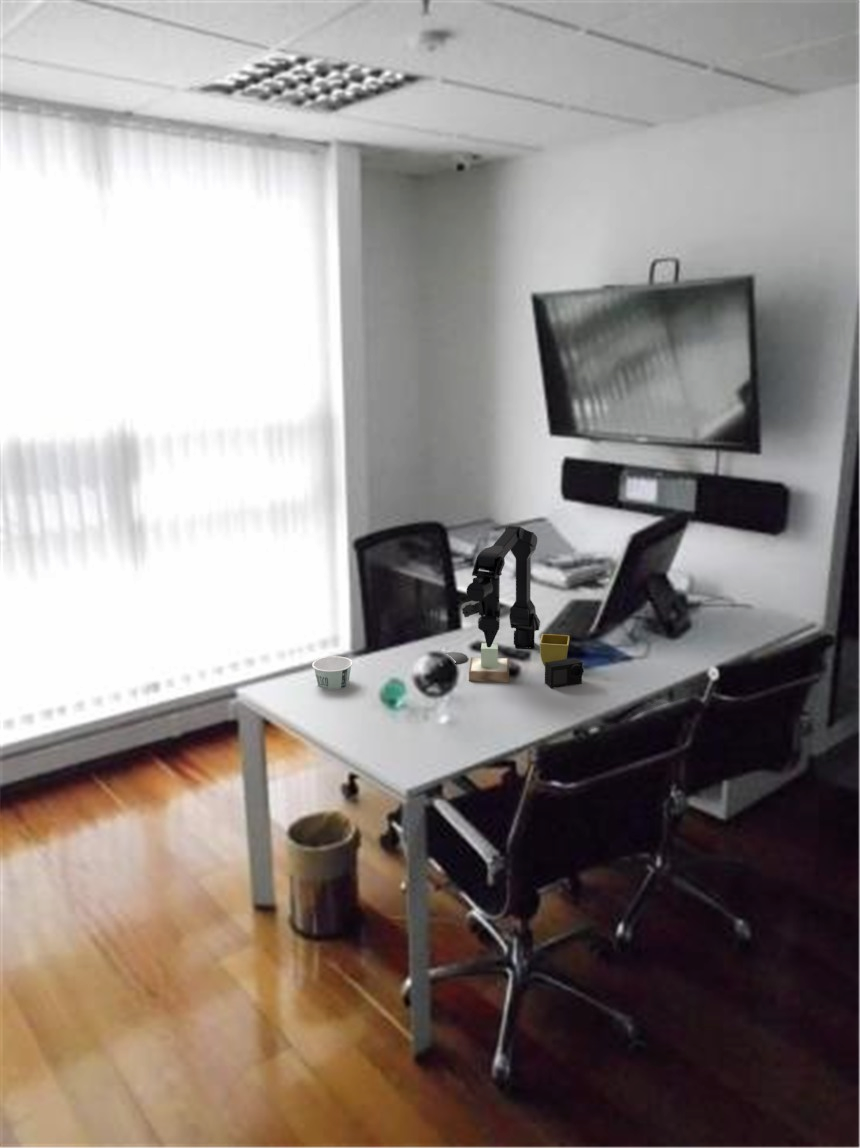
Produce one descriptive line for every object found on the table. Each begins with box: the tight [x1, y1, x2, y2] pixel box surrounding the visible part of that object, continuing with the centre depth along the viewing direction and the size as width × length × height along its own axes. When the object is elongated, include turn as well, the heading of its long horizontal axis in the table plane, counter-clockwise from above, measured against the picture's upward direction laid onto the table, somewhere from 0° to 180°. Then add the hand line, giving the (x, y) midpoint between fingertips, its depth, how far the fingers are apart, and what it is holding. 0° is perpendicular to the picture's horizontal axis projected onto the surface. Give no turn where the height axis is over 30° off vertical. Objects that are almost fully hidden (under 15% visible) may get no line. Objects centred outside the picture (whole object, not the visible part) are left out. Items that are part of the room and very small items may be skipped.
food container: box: [311, 655, 353, 690], centre depth 264 cm, size 12×12×6 cm
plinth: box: [468, 656, 510, 683], centre depth 270 cm, size 12×12×3 cm
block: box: [480, 642, 499, 668], centre depth 269 cm, size 5×5×6 cm
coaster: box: [444, 651, 468, 665], centre depth 283 cm, size 9×9×1 cm
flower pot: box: [539, 633, 571, 667], centre depth 275 cm, size 9×9×9 cm
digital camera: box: [544, 657, 585, 689], centre depth 261 cm, size 10×5×7 cm, turn 109°
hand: (489, 641), depth 267 cm, fingers open, 9 cm apart
